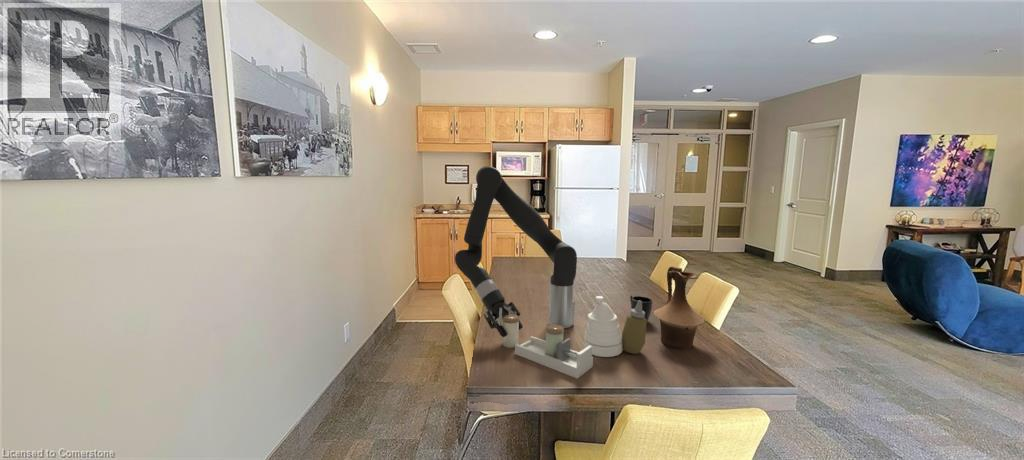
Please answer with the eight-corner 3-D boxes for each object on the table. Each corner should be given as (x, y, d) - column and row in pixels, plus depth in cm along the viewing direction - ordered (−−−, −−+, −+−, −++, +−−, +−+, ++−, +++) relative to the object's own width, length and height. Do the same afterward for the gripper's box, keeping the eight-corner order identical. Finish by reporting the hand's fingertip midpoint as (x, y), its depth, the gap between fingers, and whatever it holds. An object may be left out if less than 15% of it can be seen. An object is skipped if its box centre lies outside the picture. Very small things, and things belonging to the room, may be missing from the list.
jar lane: (514, 353, 129) (515, 333, 128) (531, 344, 136) (532, 325, 135) (577, 378, 113) (578, 355, 112) (592, 366, 121) (593, 345, 120)
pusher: (556, 363, 120) (556, 345, 119) (567, 355, 125) (568, 338, 124) (569, 368, 117) (570, 349, 116) (580, 360, 122) (581, 342, 121)
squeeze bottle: (630, 357, 127) (640, 306, 124) (613, 346, 134) (622, 297, 131) (647, 354, 130) (657, 304, 128) (630, 343, 137) (639, 296, 135)
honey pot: (577, 345, 136) (576, 296, 134) (606, 338, 141) (606, 291, 139) (599, 360, 125) (598, 307, 122) (630, 351, 130) (630, 300, 127)
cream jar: (513, 339, 140) (513, 313, 139) (521, 345, 135) (522, 318, 134) (499, 342, 137) (499, 316, 136) (507, 349, 132) (507, 321, 131)
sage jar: (555, 351, 128) (556, 323, 127) (566, 358, 123) (567, 329, 122) (541, 355, 125) (542, 326, 124) (551, 362, 120) (552, 332, 119)
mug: (639, 313, 169) (640, 292, 167) (654, 323, 157) (656, 301, 156) (622, 314, 167) (623, 293, 166) (636, 325, 155) (638, 302, 154)
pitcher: (642, 334, 146) (647, 263, 142) (681, 331, 150) (687, 262, 146) (670, 355, 129) (676, 275, 125) (713, 351, 133) (721, 273, 129)
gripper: (481, 293, 133) (506, 333, 127) (508, 284, 143) (531, 321, 138) (470, 304, 137) (494, 344, 131) (497, 295, 148) (519, 331, 142)
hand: (513, 332), depth 135 cm, fingers open, 8 cm apart
